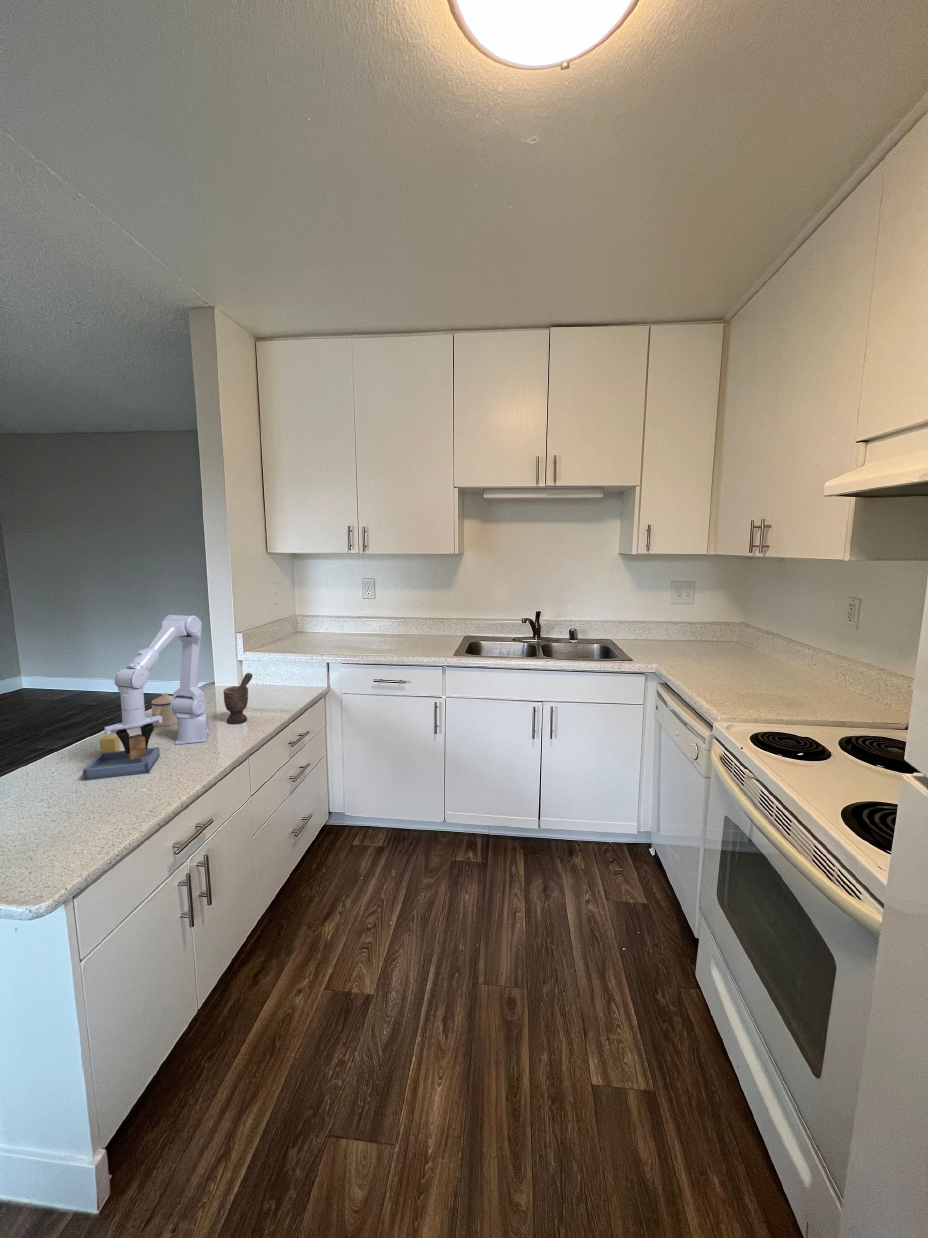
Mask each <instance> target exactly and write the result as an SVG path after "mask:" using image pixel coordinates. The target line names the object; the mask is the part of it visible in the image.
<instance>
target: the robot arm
mask: <svg viewBox="0 0 928 1238" xmlns="http://www.w3.org/2000/svg"><path fill="white" fill-rule="evenodd" d="M202 624H203V623H202V621H201V620H200V619H199V617H198V616H196V615H179V614H169V615H166V616H165V618H164V619H163V620H162V622H161V629H160V630H159V632H158V633H157V634H156V636H155V637H154V639H153V640H152V642H150V645H149V646H148V648H143V649H140V650H138V652H137V653H136V655H135V656H134V658H133V659H132V660H131V661H130V663H129V664H128V665H127V666H126V667H125V668H122V669H119V671H118V672H117V673H116V674H115V677H114V679H113V682H114V685H115V686H116V687H117V691H118V693H119V694H120V704H121V705H120V706H121V718H122V720H121V722H118V723H116V724H112V725H111V724H110V725H108V726H104V734H105V736H106V735H112V734H114V733H115V735H117V736H118V737H119V741H120V742H121V744H122V746H123V749H124V750H125V753H126V754H130V747H129V736H130V733H129V731H128V730H132V729H135V728H140V732H141V733H140V734H141V735H143V736H144V737H145V747H146V749H147V748H149V747H148V746H149V743H150V742H149V741H150V738H151V736H152V734H153V731H154V730H155V725H154V724H155V723H162V722H163V721H162V716H160V715H159V716H153V715H152V716H147V717H146V708H145V707H146V706H145V697H144V696H145V693H144V686H145V685H146V684H147V683H148V680H149V676H150V672H151V671H152V669H153V668H154V667H155V665H156V664H157V663H158V662H159V660H160V653H161V652H162V651H163V650H164V649H165V648H166V647H167V645H168V644H170V642H171V641H172V640H174V638H178V639H179V640H180V641H181V643H182V647H181V649H182V650H181V651H182V652H181V665H180V679H179V680H180V681H179V688H178V689H176V690H175V691H173V693H172V696H173V699H172V701H171V704H170V708H171V711H172V712H173V713H175V716H177V723H176V726H177V739H176V741H175V743H174V745H182V744H183V745H184V744H194V743H202V742H203V743H204V742H206V741H207V740H208V738H209V736H210V726H209V714H208V713H203V712H205V710H206V706H207V703H206V698H205V692H203V690H201V689H200V688H199V687H198V686H199V684H198V683H199V670H200V669H199V668H200V653H201V642H202V641H201V637H202Z"/></svg>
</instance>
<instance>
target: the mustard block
mask: <svg viewBox="0 0 928 1238" xmlns="http://www.w3.org/2000/svg"><path fill="white" fill-rule="evenodd" d="M99 749H100V751H99V753H104V752H114V751H121V747H120V739H119V737H118V736H117V734H109V735H106V734H105V735H103V736H102V737H101V738H100V739H99Z"/></svg>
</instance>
